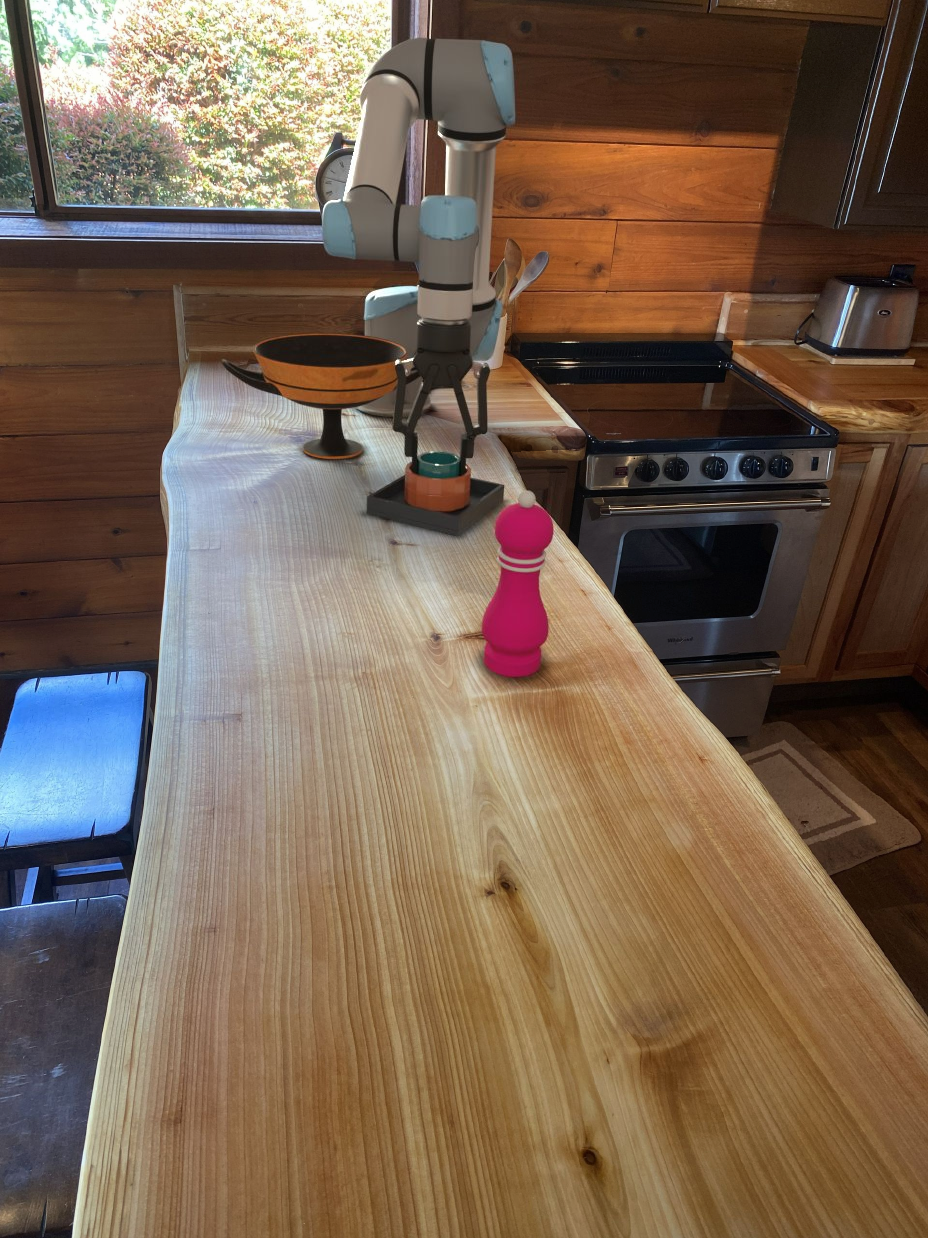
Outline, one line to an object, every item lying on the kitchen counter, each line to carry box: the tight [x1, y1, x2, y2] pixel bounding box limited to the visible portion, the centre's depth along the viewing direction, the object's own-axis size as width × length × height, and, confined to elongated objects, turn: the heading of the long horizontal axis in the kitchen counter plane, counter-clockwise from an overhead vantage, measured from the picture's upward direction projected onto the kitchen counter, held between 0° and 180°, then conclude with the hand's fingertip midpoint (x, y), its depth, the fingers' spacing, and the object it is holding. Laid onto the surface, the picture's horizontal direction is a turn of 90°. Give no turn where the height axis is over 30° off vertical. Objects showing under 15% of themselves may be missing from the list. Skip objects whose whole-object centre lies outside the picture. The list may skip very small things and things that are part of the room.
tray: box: [366, 474, 505, 537], centre depth 137 cm, size 16×15×3 cm
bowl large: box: [404, 461, 472, 513], centre depth 136 cm, size 10×10×6 cm
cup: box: [220, 332, 420, 460], centre depth 155 cm, size 36×26×18 cm
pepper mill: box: [480, 490, 555, 678], centre depth 94 cm, size 7×7×20 cm
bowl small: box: [417, 451, 460, 479], centre depth 135 cm, size 6×6×4 cm
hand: (438, 477), depth 135 cm, fingers closed on bowl small, 6 cm apart
